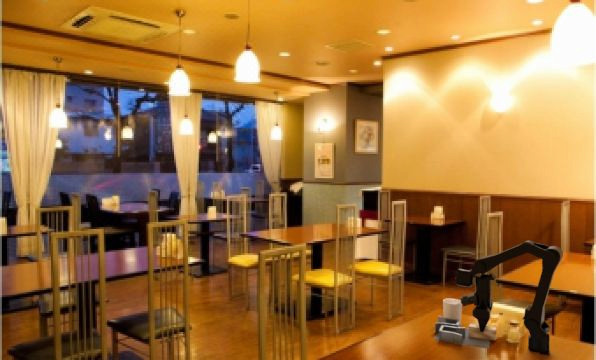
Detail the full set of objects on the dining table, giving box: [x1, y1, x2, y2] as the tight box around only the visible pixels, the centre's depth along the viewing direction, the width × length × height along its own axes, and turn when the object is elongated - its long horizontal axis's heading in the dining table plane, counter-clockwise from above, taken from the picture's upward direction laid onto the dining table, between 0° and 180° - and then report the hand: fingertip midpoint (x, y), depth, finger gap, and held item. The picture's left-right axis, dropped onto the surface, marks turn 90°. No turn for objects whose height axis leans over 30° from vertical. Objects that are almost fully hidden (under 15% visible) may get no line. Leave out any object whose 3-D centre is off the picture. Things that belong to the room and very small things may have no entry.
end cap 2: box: [438, 325, 466, 347], centre depth 180 cm, size 9×10×4 cm
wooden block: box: [468, 323, 498, 341], centre depth 182 cm, size 10×4×4 cm, turn 64°
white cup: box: [442, 298, 463, 325], centre depth 198 cm, size 8×8×10 cm
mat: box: [433, 328, 491, 349], centre depth 183 cm, size 20×17×1 cm
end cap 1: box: [434, 315, 461, 334], centre depth 189 cm, size 9×10×4 cm
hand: (482, 328), depth 182 cm, fingers open, 9 cm apart
